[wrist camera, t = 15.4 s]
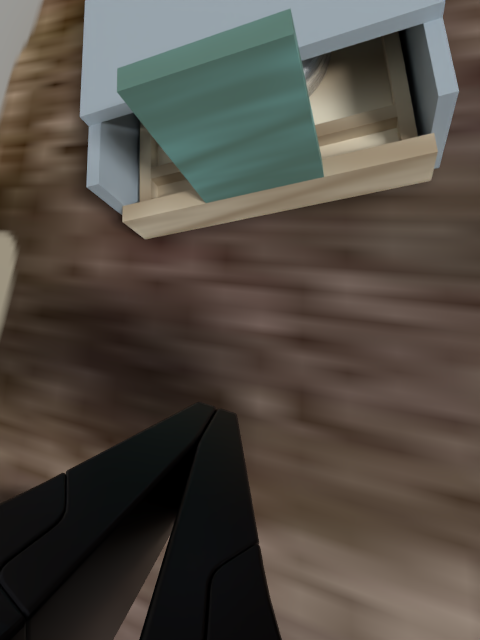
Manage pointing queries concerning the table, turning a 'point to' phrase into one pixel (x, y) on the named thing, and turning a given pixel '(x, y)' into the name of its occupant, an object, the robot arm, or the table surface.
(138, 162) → the housing
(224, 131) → the tray
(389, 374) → the table surface
